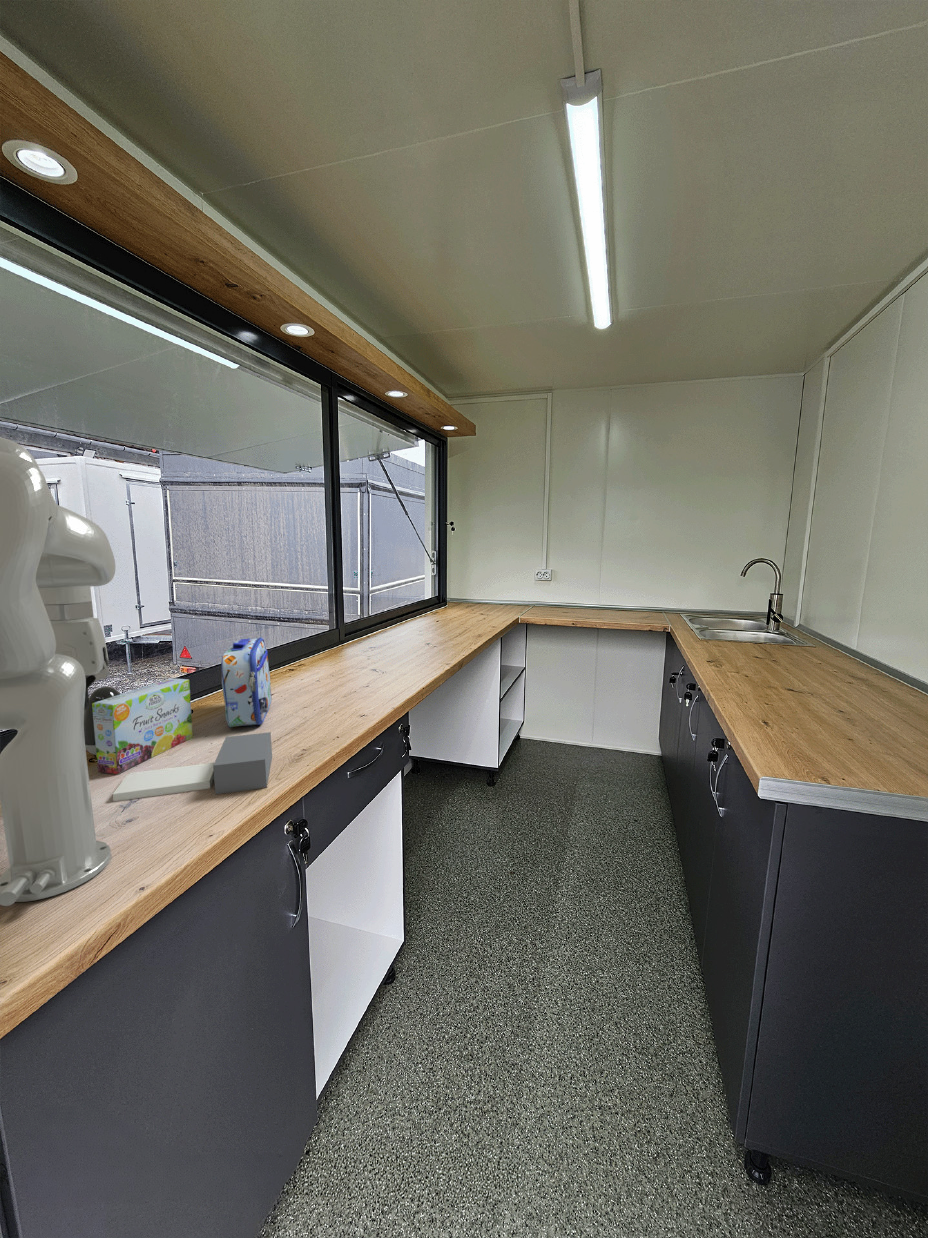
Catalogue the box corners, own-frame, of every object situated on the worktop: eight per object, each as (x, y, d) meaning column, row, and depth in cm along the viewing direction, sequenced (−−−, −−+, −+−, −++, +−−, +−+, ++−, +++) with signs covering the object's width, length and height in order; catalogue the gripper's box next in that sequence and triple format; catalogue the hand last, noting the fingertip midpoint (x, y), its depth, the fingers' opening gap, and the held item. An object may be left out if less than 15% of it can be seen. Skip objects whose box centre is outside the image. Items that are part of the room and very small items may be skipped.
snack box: (120, 776, 102) (112, 704, 100) (97, 773, 103) (89, 702, 101) (195, 737, 123) (190, 677, 121) (175, 736, 124) (169, 676, 122)
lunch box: (267, 732, 126) (262, 646, 123) (222, 737, 123) (215, 649, 120) (273, 701, 152) (269, 629, 149) (236, 704, 149) (231, 631, 146)
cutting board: (210, 790, 96) (209, 781, 96) (113, 804, 92) (112, 794, 91) (217, 771, 105) (217, 762, 105) (129, 782, 100) (128, 773, 100)
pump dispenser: (73, 764, 108) (65, 695, 106) (94, 745, 118) (87, 683, 116) (128, 758, 111) (121, 691, 108) (143, 741, 120) (137, 679, 118)
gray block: (266, 787, 96) (265, 759, 96) (215, 794, 94) (213, 765, 93) (272, 757, 111) (270, 732, 110) (227, 762, 108) (225, 737, 107)
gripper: (4, 617, 84) (18, 722, 87) (107, 613, 88) (118, 713, 91) (27, 611, 91) (40, 708, 94) (122, 608, 95) (132, 701, 98)
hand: (78, 711), depth 92 cm, fingers closed
